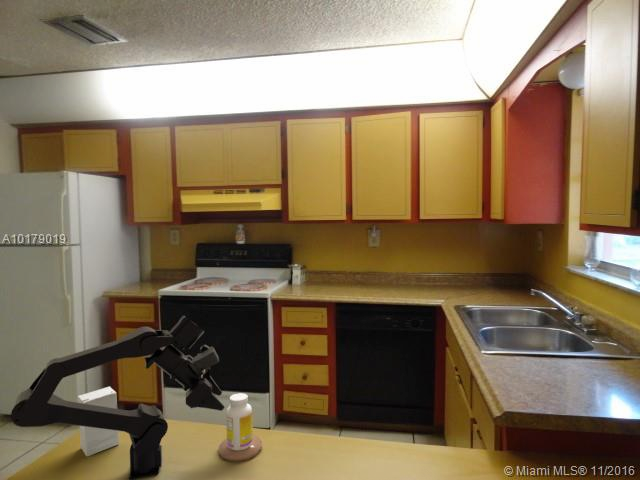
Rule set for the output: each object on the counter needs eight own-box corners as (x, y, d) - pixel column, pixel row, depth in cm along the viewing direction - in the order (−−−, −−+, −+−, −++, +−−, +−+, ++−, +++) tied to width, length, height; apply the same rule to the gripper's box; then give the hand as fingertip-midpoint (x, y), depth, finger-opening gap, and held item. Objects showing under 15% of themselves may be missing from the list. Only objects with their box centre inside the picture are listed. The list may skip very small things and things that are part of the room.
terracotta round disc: (220, 465, 97) (220, 460, 97) (218, 442, 108) (217, 437, 108) (264, 456, 101) (264, 451, 101) (258, 435, 111) (258, 430, 111)
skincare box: (112, 437, 111) (111, 385, 111) (119, 445, 107) (118, 391, 106) (78, 449, 105) (76, 394, 105) (84, 458, 101) (83, 401, 101)
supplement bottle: (255, 438, 107) (254, 391, 107) (248, 452, 100) (247, 402, 100) (231, 437, 108) (230, 391, 107) (223, 451, 101) (222, 401, 101)
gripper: (199, 350, 91) (248, 390, 95) (198, 330, 109) (240, 365, 113) (163, 388, 89) (215, 428, 93) (169, 361, 107) (212, 396, 111)
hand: (222, 401), depth 102 cm, fingers open, 9 cm apart
